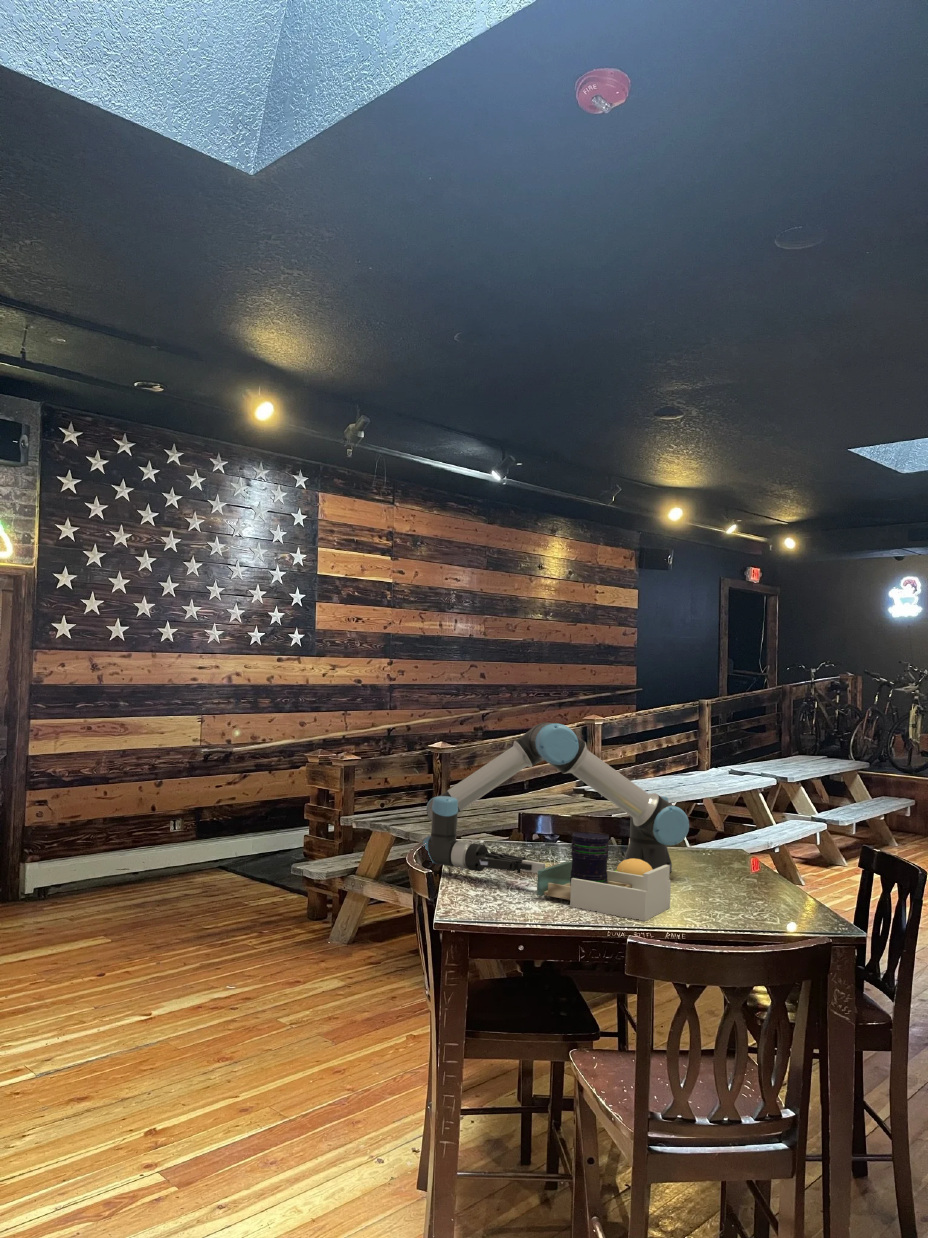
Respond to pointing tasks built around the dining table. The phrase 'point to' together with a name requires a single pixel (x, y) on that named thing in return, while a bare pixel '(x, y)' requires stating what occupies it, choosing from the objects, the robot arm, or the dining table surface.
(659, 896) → the dock
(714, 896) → the dining table surface
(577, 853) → the storage jar
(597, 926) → the dining table surface
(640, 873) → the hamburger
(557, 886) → the tray
